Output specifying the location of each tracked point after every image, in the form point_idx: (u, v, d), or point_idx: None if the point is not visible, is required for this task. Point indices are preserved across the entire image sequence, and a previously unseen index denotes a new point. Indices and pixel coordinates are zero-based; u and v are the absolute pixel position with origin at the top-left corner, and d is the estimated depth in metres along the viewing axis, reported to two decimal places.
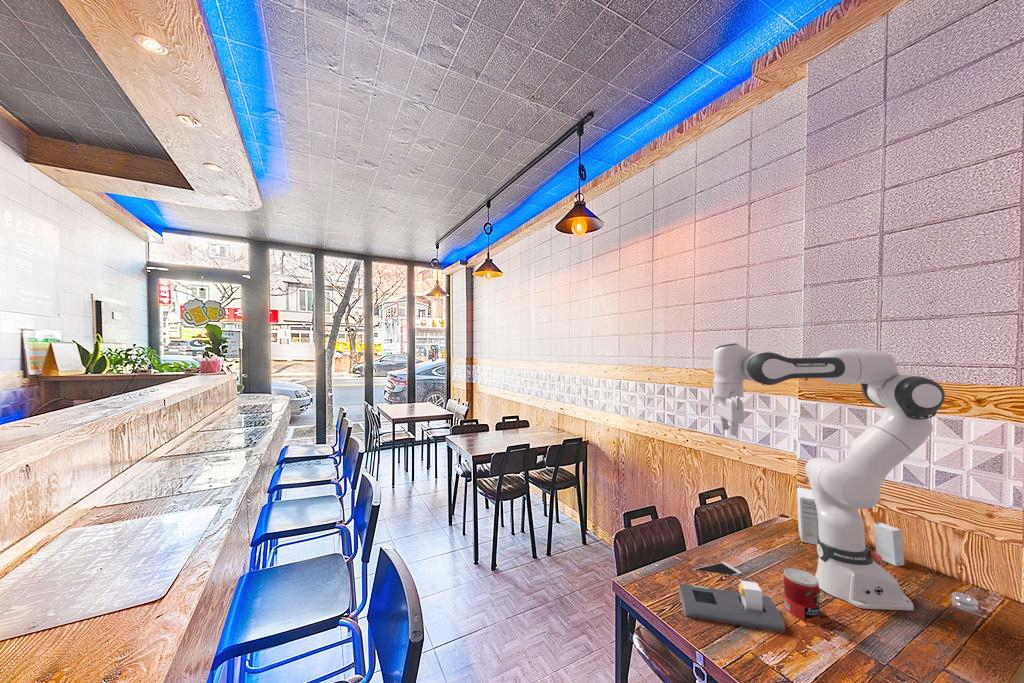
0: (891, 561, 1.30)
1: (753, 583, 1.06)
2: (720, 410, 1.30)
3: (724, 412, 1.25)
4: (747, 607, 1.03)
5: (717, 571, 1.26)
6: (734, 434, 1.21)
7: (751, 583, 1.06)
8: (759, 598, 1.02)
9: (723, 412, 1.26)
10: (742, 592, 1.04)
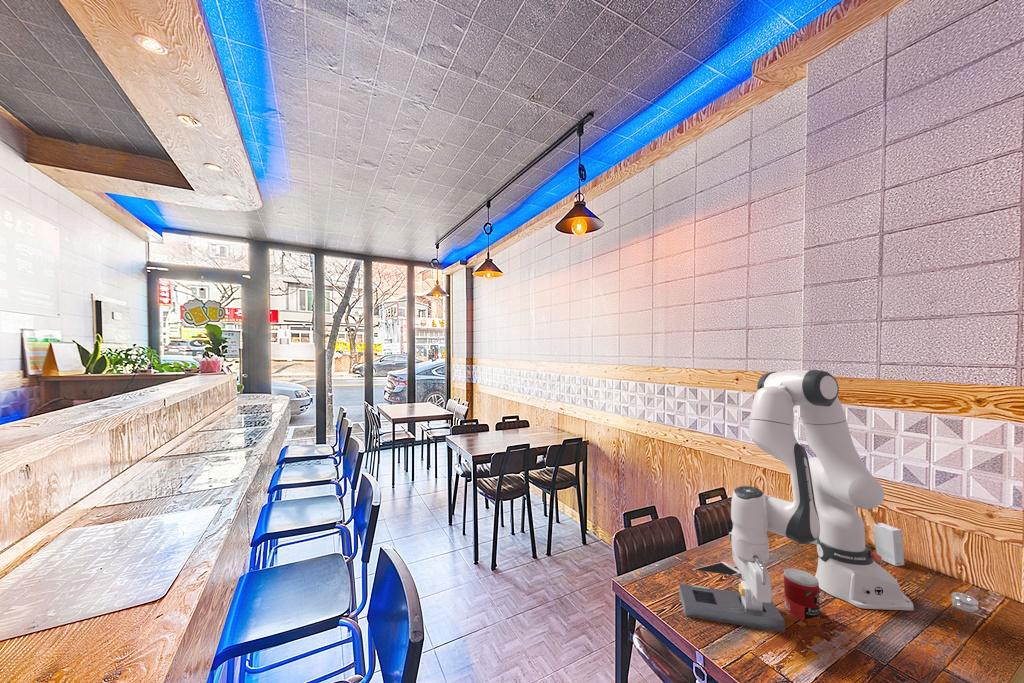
0: (891, 561, 1.30)
1: None
2: (740, 566, 1.08)
3: (745, 575, 1.03)
4: (747, 607, 1.03)
5: (717, 571, 1.26)
6: (756, 604, 1.01)
7: None
8: None
9: (744, 574, 1.04)
10: (742, 592, 1.04)
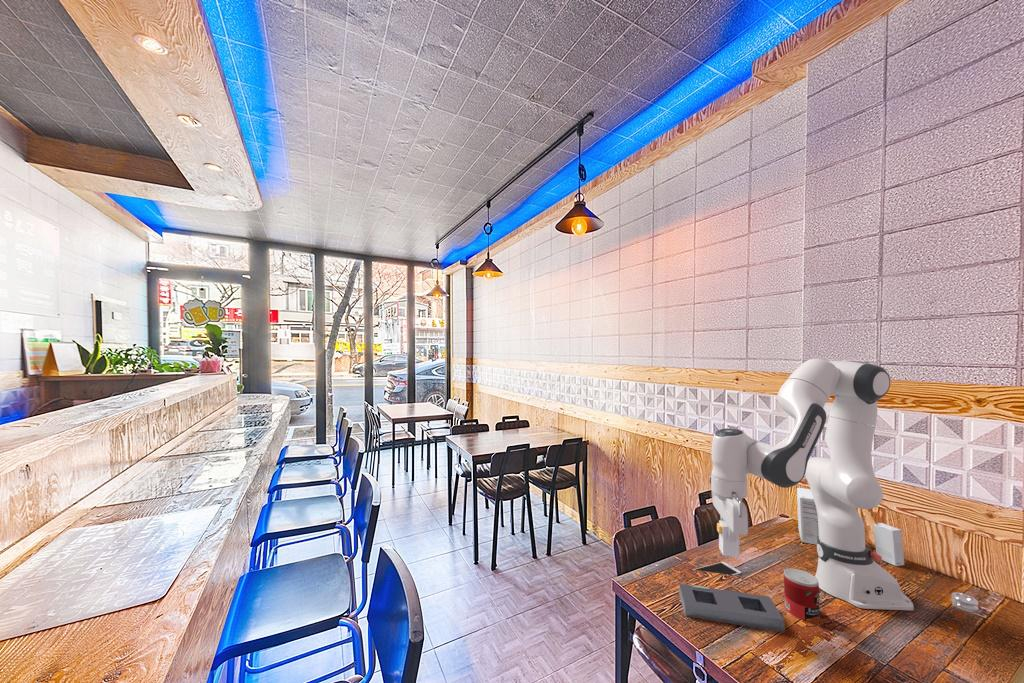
0: (891, 561, 1.30)
1: None
2: (718, 506, 1.09)
3: (723, 513, 1.05)
4: (724, 544, 1.04)
5: (717, 571, 1.26)
6: (732, 540, 1.03)
7: None
8: None
9: (722, 512, 1.06)
10: (720, 530, 1.05)
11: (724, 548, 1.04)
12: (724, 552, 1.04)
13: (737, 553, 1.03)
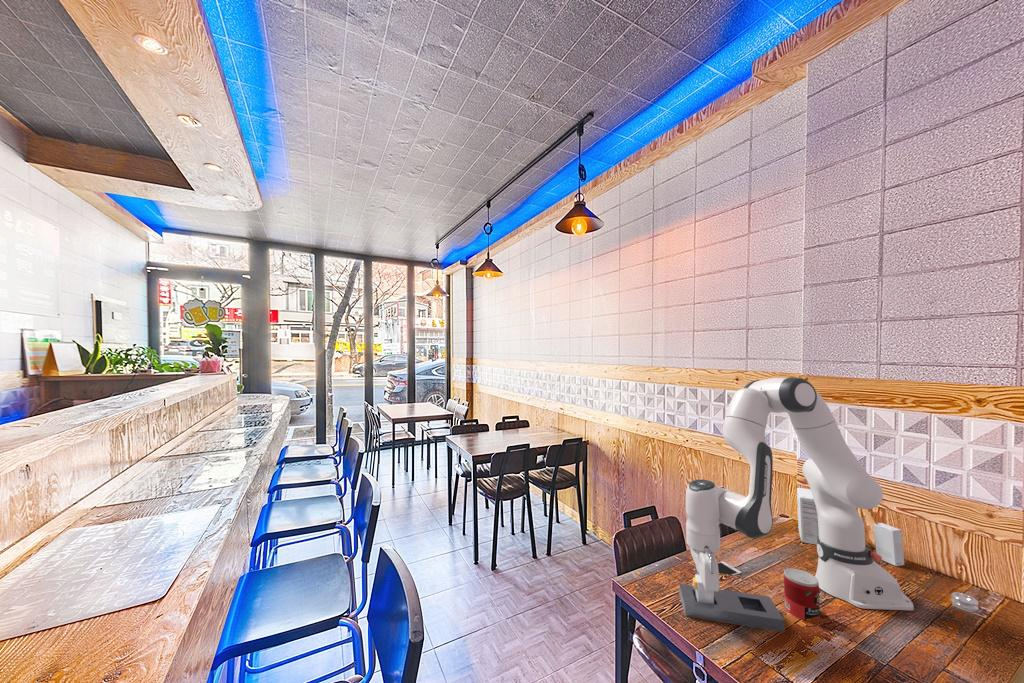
0: (891, 561, 1.30)
1: None
2: (694, 557, 1.11)
3: (698, 566, 1.06)
4: (699, 600, 1.06)
5: None
6: (709, 598, 1.02)
7: None
8: None
9: (697, 564, 1.08)
10: (695, 585, 1.07)
11: None
12: None
13: None
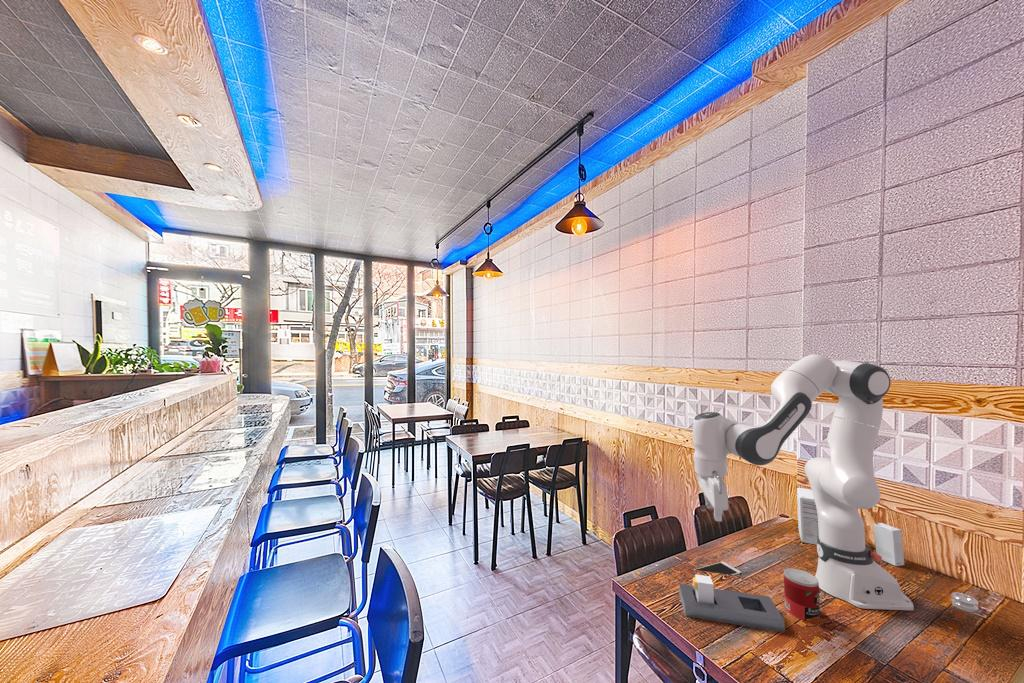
0: (891, 561, 1.30)
1: (706, 576, 1.09)
2: (703, 486, 1.16)
3: (707, 492, 1.11)
4: (699, 600, 1.06)
5: (717, 571, 1.26)
6: (718, 519, 1.07)
7: (704, 577, 1.09)
8: (711, 591, 1.05)
9: (706, 491, 1.12)
10: (695, 585, 1.07)
11: None
12: None
13: None
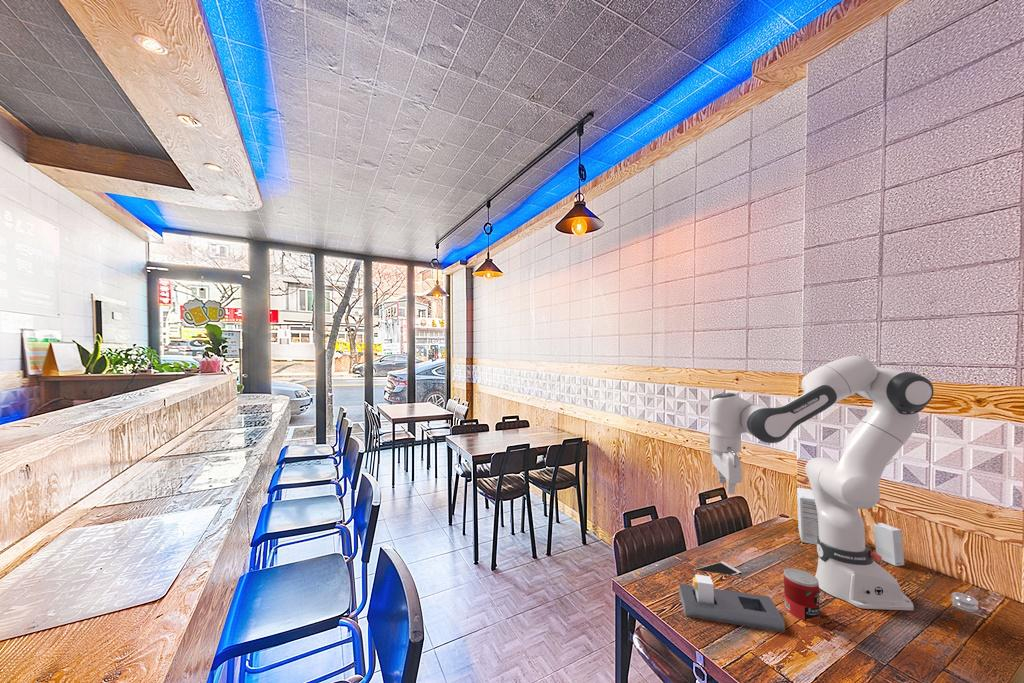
0: (891, 561, 1.30)
1: (706, 576, 1.09)
2: (717, 463, 1.23)
3: (721, 467, 1.18)
4: (699, 600, 1.06)
5: (717, 571, 1.26)
6: (731, 492, 1.14)
7: (704, 577, 1.09)
8: (711, 591, 1.05)
9: (720, 466, 1.19)
10: (695, 585, 1.07)
11: None
12: None
13: None
